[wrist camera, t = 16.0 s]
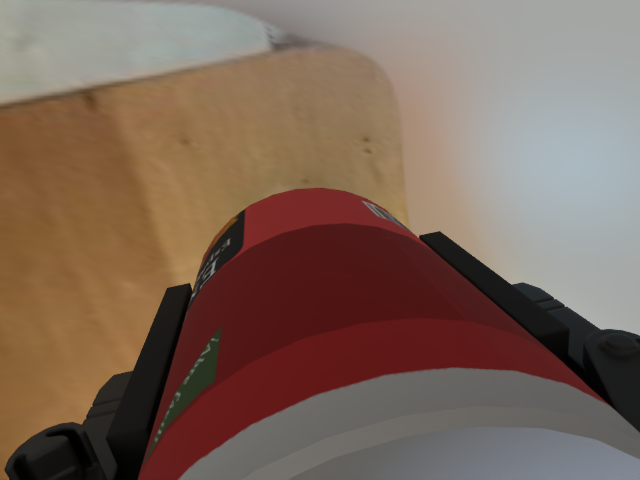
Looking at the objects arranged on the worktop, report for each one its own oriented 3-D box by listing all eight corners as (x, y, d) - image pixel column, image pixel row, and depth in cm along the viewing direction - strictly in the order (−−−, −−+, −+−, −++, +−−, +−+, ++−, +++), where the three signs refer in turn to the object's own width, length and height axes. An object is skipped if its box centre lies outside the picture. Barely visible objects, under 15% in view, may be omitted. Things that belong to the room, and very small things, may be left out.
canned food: (186, 186, 14) (4, 464, 4) (422, 176, 15) (802, 365, 5) (208, 384, 16) (140, 878, 6) (409, 363, 18) (636, 750, 7)
